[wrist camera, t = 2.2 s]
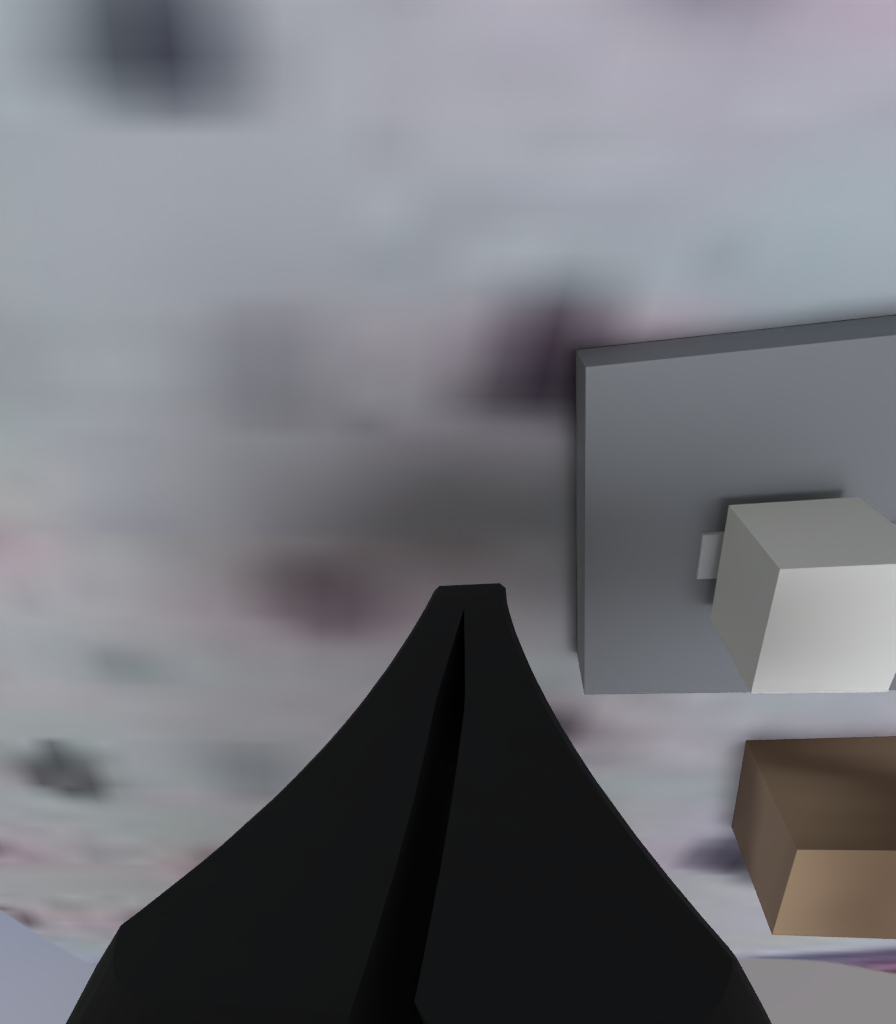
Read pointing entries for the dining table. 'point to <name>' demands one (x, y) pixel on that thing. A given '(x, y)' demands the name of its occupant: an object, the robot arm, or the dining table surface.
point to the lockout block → (821, 834)
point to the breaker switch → (808, 596)
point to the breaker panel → (711, 479)
